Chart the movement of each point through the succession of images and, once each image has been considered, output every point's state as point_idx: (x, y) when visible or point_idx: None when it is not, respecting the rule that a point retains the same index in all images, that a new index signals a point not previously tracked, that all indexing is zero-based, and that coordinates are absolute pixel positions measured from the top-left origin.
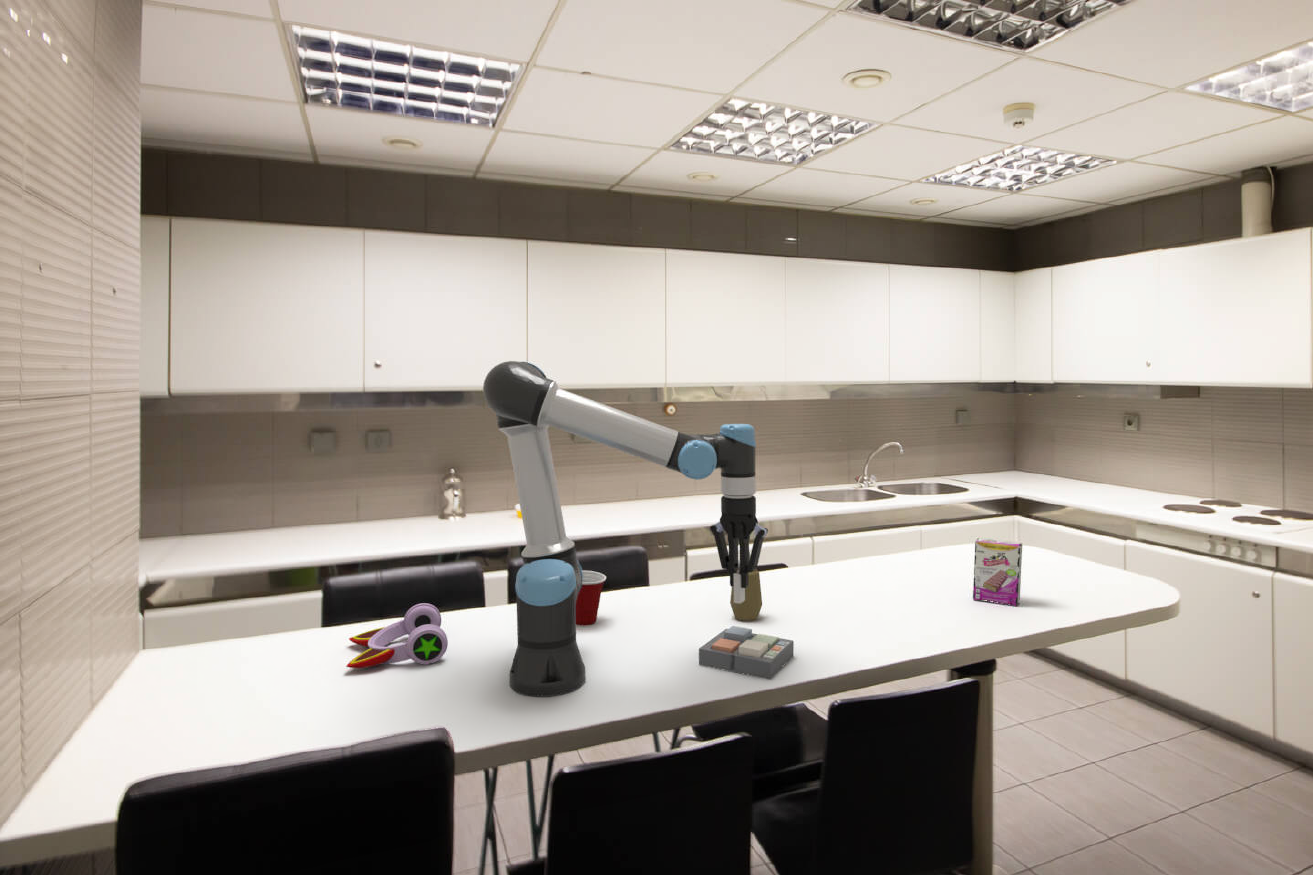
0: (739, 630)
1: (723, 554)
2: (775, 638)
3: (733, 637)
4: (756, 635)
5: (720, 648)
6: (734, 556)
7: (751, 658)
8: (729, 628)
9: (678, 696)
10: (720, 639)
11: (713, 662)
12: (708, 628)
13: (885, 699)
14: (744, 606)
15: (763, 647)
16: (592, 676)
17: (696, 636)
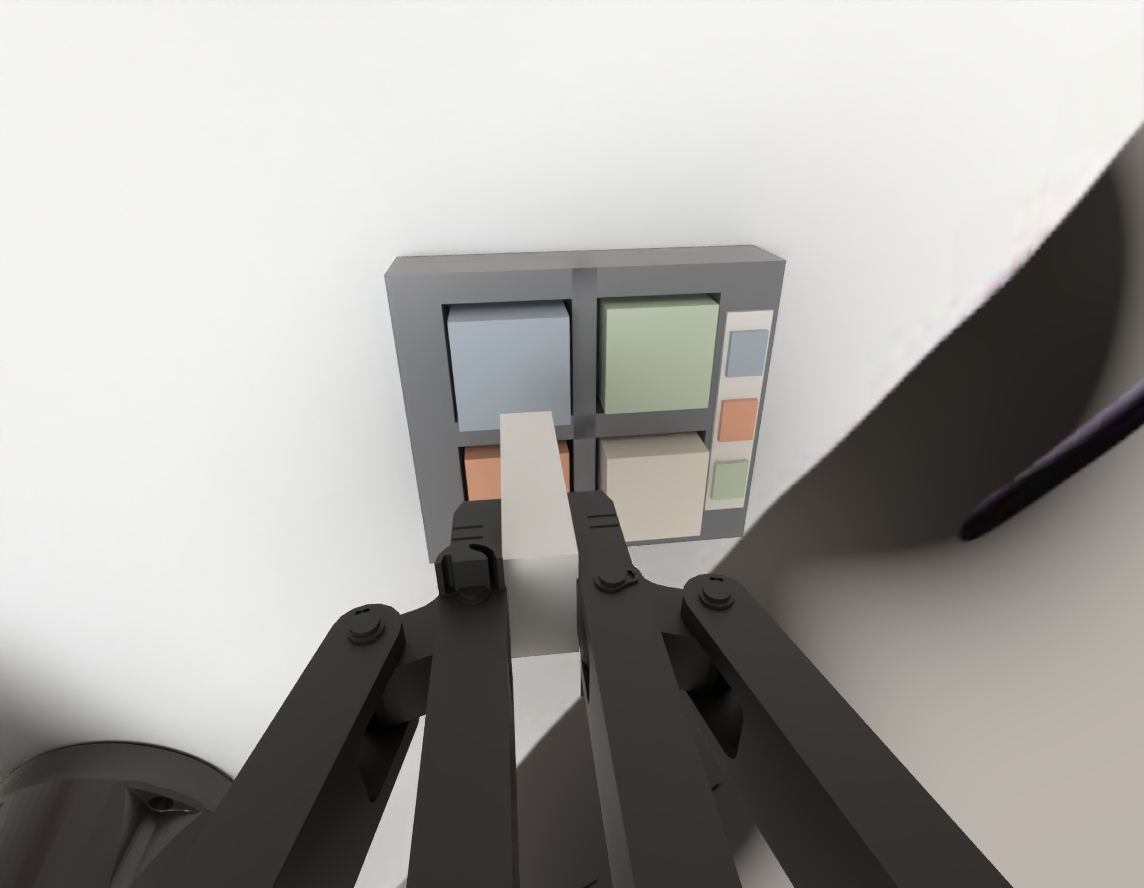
0: (518, 371)
1: (355, 870)
2: (709, 328)
3: None
4: (585, 288)
5: None
6: (516, 820)
7: (665, 540)
8: (454, 369)
9: (514, 707)
10: (472, 474)
11: None
12: (141, 56)
13: (1083, 445)
14: None
15: (703, 496)
16: (206, 742)
17: (193, 238)
